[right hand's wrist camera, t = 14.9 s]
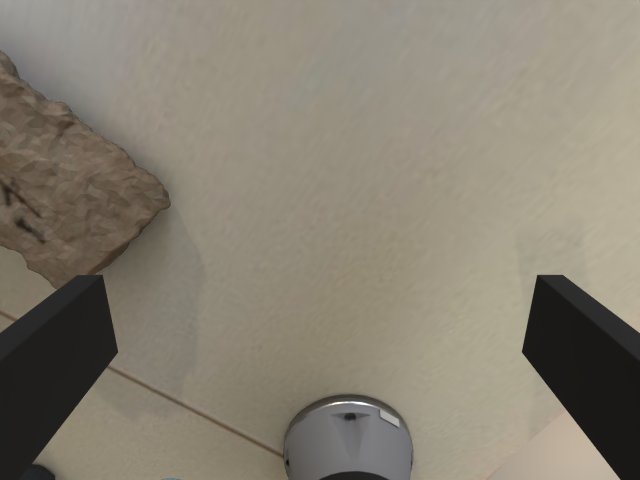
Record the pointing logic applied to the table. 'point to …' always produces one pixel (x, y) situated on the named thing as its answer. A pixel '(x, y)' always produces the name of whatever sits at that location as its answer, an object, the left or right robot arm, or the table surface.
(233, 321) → the table surface
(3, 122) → the stone
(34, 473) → the robot
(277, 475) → the table surface
